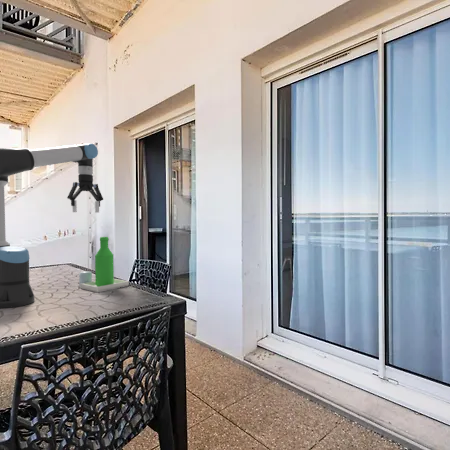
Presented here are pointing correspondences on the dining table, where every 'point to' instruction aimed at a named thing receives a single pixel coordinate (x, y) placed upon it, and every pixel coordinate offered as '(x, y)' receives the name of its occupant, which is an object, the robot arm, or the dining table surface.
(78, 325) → the dining table surface
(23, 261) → the robot arm
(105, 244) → the bottle
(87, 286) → the tray
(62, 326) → the dining table surface
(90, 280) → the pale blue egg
